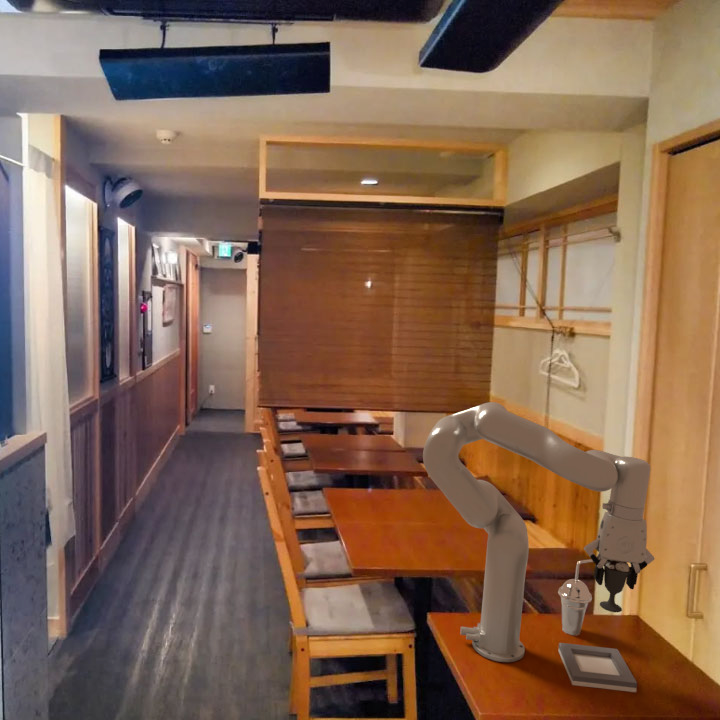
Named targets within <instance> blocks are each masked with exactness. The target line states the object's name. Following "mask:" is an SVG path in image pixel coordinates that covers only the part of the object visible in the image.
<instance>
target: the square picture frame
mask: <svg viewBox="0 0 720 720" xmlns="http://www.w3.org/2000/svg"><path fill="white" fill-rule="evenodd" d="M557 652H558V654H559V655H560V658H561V662H562V664H563V665H564V668H565V670H566V673H567V675H568V678H569V680H570V683H571V685H572V686H578V687H586V688H588V687H589V688H595V689H597V688H598V689H605V690H612V691H622V692H629V693H637V687H638V682H637V679H636V678H635V677H634V675H633V674H632V672H631V670H630V669H629V666H628V665H627V663H626V661H625V660H624V657H623V656H622V654H621V653H620V651H619V650H618V648H611V647H602V646H595V645H594V646H593V645H585V644H584V645H583V644H575V643H565V642H559V643H558V651H557Z"/></svg>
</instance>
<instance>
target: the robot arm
mask: <svg viewBox="0 0 720 720" xmlns="http://www.w3.org/2000/svg"><path fill="white" fill-rule="evenodd" d="M479 440H484V441H486V442H489V443H490V444H494V445H495V446H497V447H500V448H503V449H505V450H507V451H509V452H511V453H513V454H517V455H519V456H521V457H524V458H526V459H527V460H530V461H532V462H534V463H535V464H537V465H539V466H541V467H542V468H544V469H547V470H549V472H552V473H553V474H556V475H557V476H559V477H561V478H563V479H565V480H567V481H569V482H572V483H574V484H576V485H579V486H581V487H583V488H585V489H588V490H591V491H594V492H599V493H600V492H607V491H610V495H609V499H608V501H607V502H606V503H605V502H604V503H602V509H603V510H606V511H605V512H604V514H603V517H602V519H601V522H600V525H599V527H598V532H597V536H596V539H595V540H593V541H592V542H590V543H588V544H586V545H585V546H583V550H584V551H585V552H586V553H587V555H588V556H589V558H590V559H592V560H593V562H592V563H594V564H595V566H594V572H593V579H594V580H595V581H596V583H597V585H599V586H602V585H603V584H604V566H603V565H604V564H605V563H606V561H607V560H613V561H621V562H627V563H629V564H630V567H631V568H632V572H631V573H630V574H628V575H627V578H626V581H625V585H627V586H628V588H629V589H630V590H634V588H635V585H637V581H638V574H640V573H641V571H642V570H643V569H644V568H646V567H648V565H649V564H651V563H652V562H653V561H654V560H655V557H654V555H653V554H652V553H651V552H650V550H648V548H647V539H648V538H647V537H648V534H647V533H648V532H647V531H648V530H647V527H648V526H647V520H646V519H644V512H645V506H646V501H647V494H648V493H647V492H648V487H649V481H650V475H651V465H650V463H649V462H647V461H646V460H644V459H642V458H638V457H633V456H620V455H616V454H612V453H609V452H606V451H602V450H598V449H590V450H587V451H584V450H583V449H579V447H578V448H577V447H575V446H574V445H572V444H570V443H568V442H566V441H565V440H564V439H562V438H561V437H560V436H558V434H556V433H555V432H554V431H552V430H551V429H550V428H548V427H546V426H543V425H541V424H539V423H536V422H534V421H531V420H529V419H526V418H524V417H521V416H519V415H518V414H516V413H513V412H510V411H508V410H507V409H506V407H505V406H504V405H502V404H501V403H499V402H494V401H490V402H485V403H481V404H479V405H476V406H474V407H470V408H468V409H465V410H461V411H458V412H456V413H455V412H454V413H452V414H450V415H449V414H448V415H446V416H444V417H442V418H440V419H439V420H438V421H437V422H436V424H434V426H433V427H432V429H431V430H430V432H429V434H428V435H427V438H426V441H425V444H424V445H423V446H424V448H423V452H422V459H423V460H422V461H423V466H424V468H425V471H426V473H427V475H428V476H429V478H430V479H431V480H432V482H433V483H434V484H435V486H437V488H438V489H439V490H440V491H441V492H442V494H443V495H444V496H445V497H446V499H447V500H448V502H449V503H450V504H451V505H452V506H453V507H454V509H455V510H456V511H457V512H458V513H459V515H460V516H461V517H462V519H463V520H464V521H465V522H466V524H469V526H471V527H473V528H477V529H483V530H484V531H485V532H486V533H487V543H486V546H487V547H486V556H485V567H484V577H483V578H484V580H483V593H482V603H481V604H482V605H481V612H480V613H481V614H480V622H477V626H473V627H468V626H463V625H462V626H460V631H459V632H460V635H462V636H466V637H465V640H469V641H472V643H471V644H472V648H473V650H475V652H476V653H478V654H479V655H481V656H482V657H483V658H486V659H488V660H491V661H494V662H500V663H514V662H517V661H520V660H521V659H522V658H524V656H525V651H526V649H525V648H526V647H525V646H524V644H523V642H522V641H520V633H521V623H522V613H523V605H524V604H523V603H524V594H525V592H524V591H525V584H526V583H525V579H526V574H527V573H526V572H527V567H528V566H527V565H528V559H529V551H530V550H529V549H530V548H529V547H530V546H529V545H530V544H529V534H528V529H527V528H528V527H527V525H526V523H525V520H524V519H523V518H522V517H521V515H520V514H519V513H518V512H517V510H515V508H514V507H513V506H512V504H511V503H510V502H509V501H508V500H507V499H506V498H505V496H504V495H503V494H502V493H501V492H500V491H499V490H498V488H496V486H494V484H492V483H490V482H489V481H486V480H483V479H477V478H476V477H475V475H473V473H472V472H471V471H470V470H469V468H467V467H466V465H464V463H463V462H462V461H461V460H460V458H459V454H460V452H461V450H462V449H463V448H464V447H463V446H465V445H469V444H471V443H474V442H476V441H477V442H478V441H479ZM594 550H596V551H597V552H598V553H597V555H596V554H595V553H594Z"/></svg>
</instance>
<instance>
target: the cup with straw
mask: <svg viewBox="0 0 720 720" xmlns="http://www.w3.org/2000/svg"><path fill="white" fill-rule="evenodd" d="M587 563H594V562H593V560H592V559H591V558H590V559H583V560H582V559H581V560H579V561H577V563H576V567H575V576H574V578H570V579H567V580H566V581H565V582H564V583H563V584H562V585H561V586H560V587H559V588H558V591H557V593H558V595H559V596H560V601H561V602H560V603H561V626H562V627H561V629H562V632H564V633H565V634H568V635H570V636H578V635H580V634H581V630H582V626H583V622H584V619H585V613H586V609H587V608H588V605H589V603H591V602H592V599H593V597H592V594H591V592H590V590H589V588H588V586H587V585H586V583H584V582H583V581H582V580H580V579H579V572H580V565H581V564H587Z"/></svg>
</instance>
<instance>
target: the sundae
mask: <svg viewBox="0 0 720 720" xmlns="http://www.w3.org/2000/svg"><path fill="white" fill-rule="evenodd" d="M603 568H604V576H603V584H604V587H605V589H606V590H607V591H608V592H609V598H608V600H607V601H605V600H604V601H599V607H601V608H602V609H603V610H606V611H608V612H611V613H620V612H622V611H623V609H622V607H621V606H620V605H619V604H618V603H615V598H616V595H618V594H619V593H621V592H622V591H623V590H624V587H625V585H626V579H627V575H628V574H630V573H631V572H632V568H631V566H630V565H629V564H628V562H621V561H613V560H607V561H606V563H605V564H604V565H603Z"/></svg>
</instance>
